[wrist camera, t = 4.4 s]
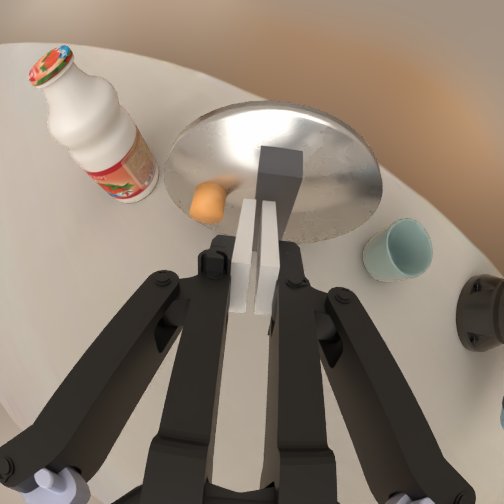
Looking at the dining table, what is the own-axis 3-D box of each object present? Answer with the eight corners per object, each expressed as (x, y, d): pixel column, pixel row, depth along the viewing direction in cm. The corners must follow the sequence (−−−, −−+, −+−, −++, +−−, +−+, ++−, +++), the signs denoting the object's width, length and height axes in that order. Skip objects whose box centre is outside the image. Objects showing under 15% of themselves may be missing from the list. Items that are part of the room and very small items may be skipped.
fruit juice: (170, 178, 42) (102, 42, 15) (127, 216, 41) (15, 114, 14) (141, 145, 44) (75, 24, 16) (101, 180, 42) (7, 80, 15)
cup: (348, 247, 41) (376, 229, 31) (385, 229, 42) (417, 209, 32) (368, 293, 40) (401, 287, 30) (404, 272, 40) (440, 262, 31)
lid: (340, 241, 28) (340, 270, 27) (186, 222, 28) (179, 251, 27) (419, 134, 13) (433, 176, 12) (146, 95, 13) (124, 133, 12)
